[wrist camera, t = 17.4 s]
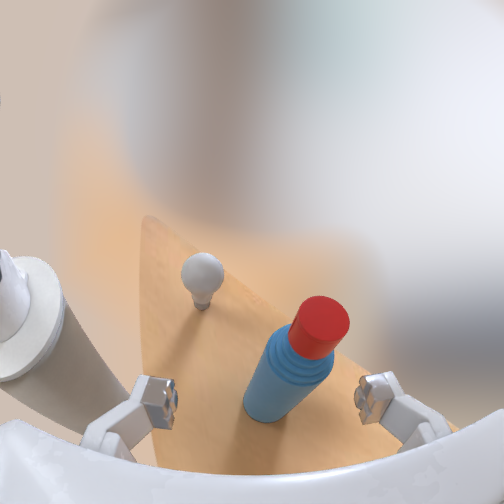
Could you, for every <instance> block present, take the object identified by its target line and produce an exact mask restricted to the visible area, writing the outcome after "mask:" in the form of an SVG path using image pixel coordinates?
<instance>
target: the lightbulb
mask: <svg viewBox="0 0 504 504" xmlns="http://www.w3.org/2000/svg"><path fill="white" fill-rule="evenodd" d="M181 278H182V281H183V284H184V286H185V287H186V288H187V289H188V290H189V291H190V292H191V294H192V298H193V300H194V305H195V307H196V308H197V309H199V310H205V309H207V308H208V307H209V305H210V300H211V299H212V295H213V293H214V292H216V291H217V290H218V289H219V288H220V286H221V284H222V282H223V279H224V270H223V267H222V264H221V263H220V261H219V260H218V259H217V258H216V257H214V256H213V255H211V254H208V253H197V254H195V255H192V256H191V257H189V258H188V259H187V260H186V261H185V263H184V265H183V267H182V271H181Z"/></svg>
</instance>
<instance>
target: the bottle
mask: <svg viewBox="0 0 504 504" xmlns="http://www.w3.org/2000/svg"><path fill="white" fill-rule="evenodd" d="M290 326H291V324H288V325H286V326H283V327H282V328H280V329H278V330H277V331H275V332H274V333H273V334H272V336H271V337H270V338H269V340H268V342H267V345H266V347H265V349H264V352H263V354H262V356H261V359H260V361H259V363H258V366H257V368H256V370H255V372H254V375H253V377H252V379H251V381H250V383H249V386H248V388H247V390H246V392H245V395H244V398H243V404H244V408H245V410H246V412H247V413H248V415H249V416H250V417H252V418H253V419H255V420H256V421H259V422H263V423H271V422H275V421H277V420H279V419H281V418H282V417H283V416H284V415H286V414H287V413H288V412H289V411H290V410H292V409H293V408H294V407H295V406H296V405H297V404H298V403H300V402H301V401H302V400H303V399H304V398H305V397H306V396H307V395H308V394H310V393H311V392H312V391H313V390H314V389H315V388H316V387H317V386H318V385H319V384H320V383H321V382H322V381H323V380H324V379H325V378H326V377H327V376H328V375H329V374H330V372H331V370H332V367H333V363H334V349H333V351H332V352H331V353H330V354H329V355H328V356H326V357H325V358H322V359H318V360H311V359H307V358H304V357H302V356H300V355H299V354H297V353H296V352H295V351H294V350H293V348H292V347H291V345H290V343H289V340H288V331H289V328H290Z"/></svg>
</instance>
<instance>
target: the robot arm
mask: <svg viewBox="0 0 504 504" xmlns="http://www.w3.org/2000/svg"><path fill="white" fill-rule="evenodd" d="M0 102H1V99H0ZM27 281H28V274H27V273H26V271H25V270H20V269H18V268H17V267H16V265H15V263H14V262H13V260H12V258H11V257H10V255H9V254H8V252H7V251H6V250H2V249H0V343H1V342H4V341H6V340H8V339H9V338H11V337H12V336H13V335H14V334H15V333H16V332H17V331H18V330H19V329H20V328H21V326H22V325H23V323H24V321H25V319H26V317H27V315H28V312H29V308H30V292H29V290H28V287H27ZM359 384H360V386H358V387H357V388H356V390H355V393H354V401H355V405H356V407H357V408H358V409H360V413H359V416H360V419H361V422H362V424H363V425H365V424H371V423H377V422H379V423H380V424H381V425H382V426H383V427H384V428H385V429H387V430H388V431H389V432H390V433H391V434H392V435H394V436H395V437H396V438H397V439H398V440H399V441H401V442H402V443H403V445H402V447H401V448H400V449H399V450H398V452H397V454H395V455H392V456H388V457H385V458H381V459H377V460H373V461H369V462H365V463H360V464H356V465H351V466H346V467H340V468H334V469H328V470H321V471H313V472H305V473H294V474H280V475H220V474H206V473H196V472H187V471H179V470H172V469H166V468H160V467H155V466H150V465H145V464H140V463H137V461H136V460H135V458H134V457H133V455H132V454H131V452H130V450H131V449H132V448H133V447H134V446H135V445H137V444H138V443H139V442H140V441H141V440H142V439H143V438H144V437H145V436H146V435H147V434H148V433H149V432H150V431H151V430H152V429H153V428H160V429H169V430H172V427H173V423H174V419H175V418H174V415H173V413H174V412H175V411H176V410H177V404H178V396H177V391H176V390H175V389H174V386H175V383H174V380H173V379H168V378H161V377H154V376H147V375H139V376H138V378H137V380H136V383H135V385H134V388H133V390H132V393H131V395H130V397H129V400H128V401H126V400H125V401H123V402H122V403H120V404H119V405H118V406H116V407H115V408H113V409H112V410H110V411H108V412H107V413H105V414H104V415H102V416H101V417H99V418H98V419H96V420H95V421H93V422H92V423H90V424H88V426H87V428H86V431H85V433H84V435H83V438H82V440H81V443H80V445H79V446H78V445H76V444H72V443H70V442H68V441H65V440H63V439H60V438H58V437H55V436H53V435H51V434H49V433H46V432H44V431H42V430H40V429H38V428H36V427H34V426H32V425H30V424H28V423H26V422H24V421H22V420H19V419H15V420H11V421H9V422H6V423H4V424H1V425H0V504H504V409H499V410H497V411H495V412H493V413H491V414H490V415H488V416H486V417H484V418H483V419H480V420H479V421H477V422H475V423H473V424H471V425H469V426H467V427H465V428H463V429H461V430H458V431H456V432H454V433H453V432H452V430H451V429H450V427H449V425H448V423H447V421H446V420H445V418H444V416H443V415H441V414H440V413H438V412H437V411H435V410H433V409H431V408H430V407H428V406H426V405H425V404H423V403H421V402H420V401H418V400H416V399H415V398H413V397H411V396H410V395H405V393H404V391H403V390H402V388H401V386H400V384H399V382H398V381H397V379H396V377H395V375H394V373H393V372H385V373H378V374H372V375H366V376H362V377H361V378H360V380H359Z"/></svg>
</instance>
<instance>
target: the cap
mask: <svg viewBox="0 0 504 504" xmlns="http://www.w3.org/2000/svg"><path fill="white" fill-rule="evenodd" d="M349 324H350V321H349V317H348V314H347V312H346V310H345V309H344V308H343V306H342V305H340V304H339V303H338V302H337V301H335V300H333V299H331V298H329V297H325V296H313V297H310V298H308V299H306V300H305V301H304V302H303V303H302V304H301V306H300V308H299V310H298V312H297V314H296V316H295V318H294V320H293V322H292V324H291V326H290V328H289V331H288V340H289V343H290V345H291V347H292V348H293V350H294V351H295V352H296V353H297V354H299V355H300V356H302V357H304V358H307V359H311V360H318V359H322V358H325V357H326V356H328V355H329V354H330V353H331V352H332V351H333V349H334V348H335V347H336V346H337V344H338V343H339V342H340V341H341V340H342V338H343V337H344V336H345V335H346V333H347V331H348V329H349Z"/></svg>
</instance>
